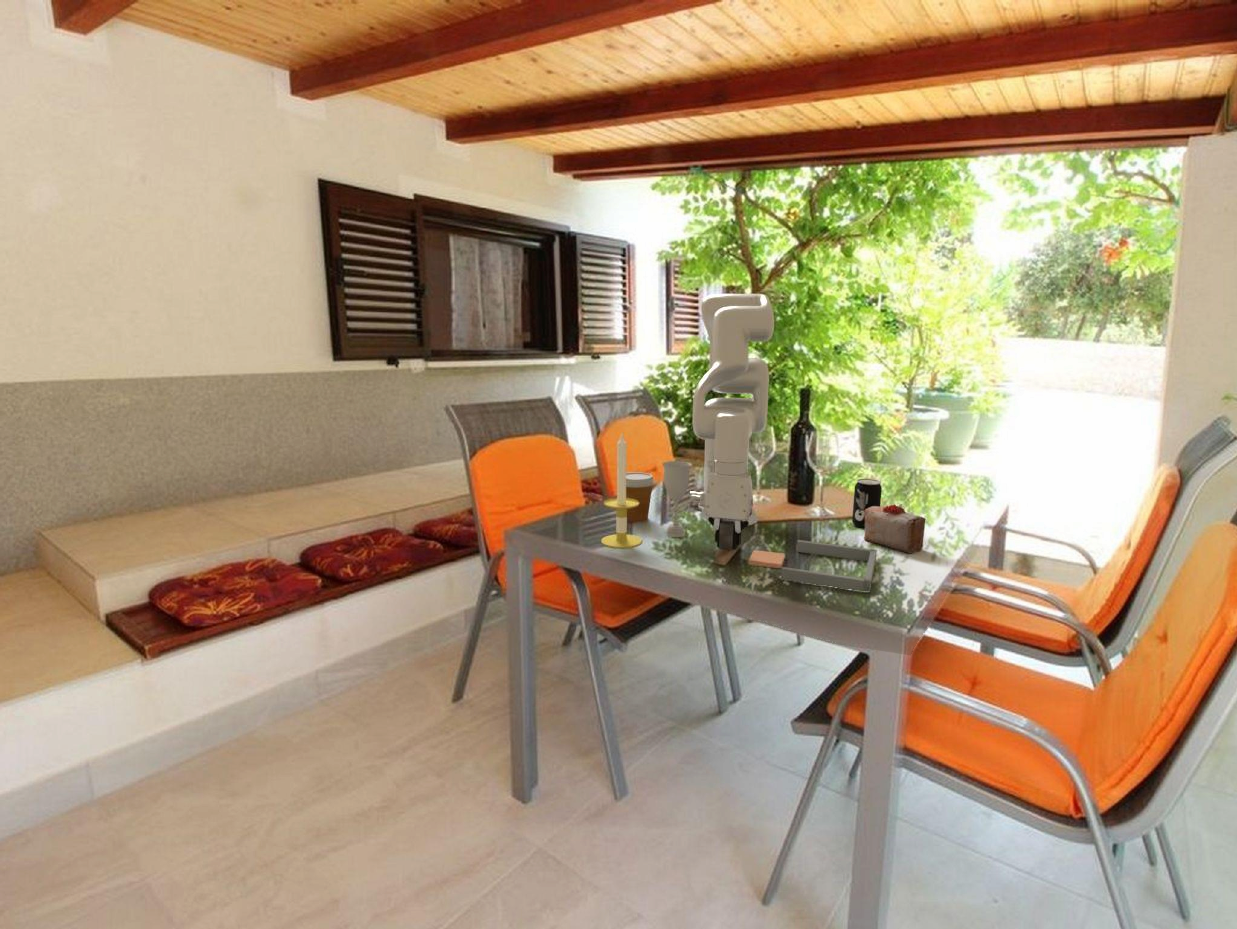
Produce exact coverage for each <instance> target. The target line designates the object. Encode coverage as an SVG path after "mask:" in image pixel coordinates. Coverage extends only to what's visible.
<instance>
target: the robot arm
mask: <svg viewBox="0 0 1237 929" xmlns="http://www.w3.org/2000/svg"><path fill="white" fill-rule="evenodd" d="M700 307H701V308H700V310H701V317H702V321H703V324H704V328H705V330H706V332H707V335H708V339H709V364H708V365H709V366H708V368H709V370H708V371H706V373H704V375H703V376H702V377H701V379H700V381H699V382H698V383H697V385H696V388H695V390H694V393H693V399H692V429H693V433H694V435H695V436H696V437H697V438H698V439H702V440H704V469H703V470H704V471H703V472H704V474H703V491H700V492H697V491H690V492H689V498H690V500H695V501H696V500H697V501H699V502H698V503H697V508H698V510H699V511H701V512H700V517H702V518H703V519H704V520H706V521H708V522H709V524H710V525H712V528H713V529H714V530H715V536H714V542H715V543H716V547H717V548H719V536H720V523H721V522H722V521H723V520H724V519H728V520H735V532H734V533H733V549H734V550H736V549H737V547H738V546H739V545H740V546H741V544H742V531H743V530H744V529H746V528H747V527H748V526H751V525H754V524H757V522H758V521H759V517H758V516H757V513H756V512H755V510H754V495H753V493H754V492H753V483H752V476H751V474H750V473H749V449H750V438H751V436H752V434H753V433H755V434H756V433H758V434H759V433H761V432H763V431H764V430H765V428H766V426H767V421H768V409H769V406H768V405H769V404H768V403H769V389H770V388H769V387H770V386H769V385H770V372H769V366H768V364H767V362H766V361H765V360H763V359H761V358H757V357H756V358H752V357H751V358H750V357H749V342H768V341H770V340H771V339H772V337H773V335H774V332H775V315H774V310H773V308H772V303H771V300H770V298H769V297H768V295H766V294H763V293H716V294H714V293H713V294H709V295H707V296H705V297H704V298H703V299H702V301H701V306H700ZM711 391H713V392H715V393H718V394H739V395H740V394H744V395H745V394H746V395H747V394H748V395H749V396H750V397H749V398H747V397H714V398H710V399H709V400H707V401H706V397H707V395H708V393H709V392H711ZM705 401H706V402H705Z"/></svg>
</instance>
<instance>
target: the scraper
mask: <svg viewBox="0 0 1237 929" xmlns="http://www.w3.org/2000/svg"><path fill="white" fill-rule="evenodd" d="M734 532H735V520H728V519H723V520H722V522H721V523H720V536H719V547H718V551H717V552H716V553H715V554H714V564H715V565H720V566H726V565H727V564H728V562H729V561H730V560H731V559H732V558H733V556H734V555H735V554H736V553H737V551H738V550H739V549H740V548H741V544H740V545H739V546H738V547H737V549H736V550H734V549H733V533H734Z"/></svg>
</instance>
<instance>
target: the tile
mask: <svg viewBox="0 0 1237 929" xmlns="http://www.w3.org/2000/svg"><path fill="white" fill-rule="evenodd" d="M785 559H786V553H781V552H772V551H764V550H756V549H753V551H752V553H751V555H750V557H749V559H748V565H751V566H759V567H766V568H767V567H768V568H775V569H782V567H783V564H784V560H785Z"/></svg>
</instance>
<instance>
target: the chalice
mask: <svg viewBox="0 0 1237 929" xmlns="http://www.w3.org/2000/svg"><path fill="white" fill-rule="evenodd" d="M661 466H663V485H664V487H665V489H666V492H667V494H668V497H669V499H670V500H671V501H673V507H672V509H673V514H672V517H673V522H672V523H671V524H669V525H668V527H667V530H666V532H665V535H666V536H667V537H669V538H670V537H672V538H683V537H685V536H686V535H687V534H686V532H685V529H684V527H683V526H682V524H681V523H679V517H680V514H679V509H680V507H679V501H682V500H683V498H684V496H685V494H686V493H687V490H688V487H689V485H690V468H691V467H692V463H691V462H688V461H680V460H676V461H675V460H674V461H673V460H670V461H664V462H662V465H661Z"/></svg>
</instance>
